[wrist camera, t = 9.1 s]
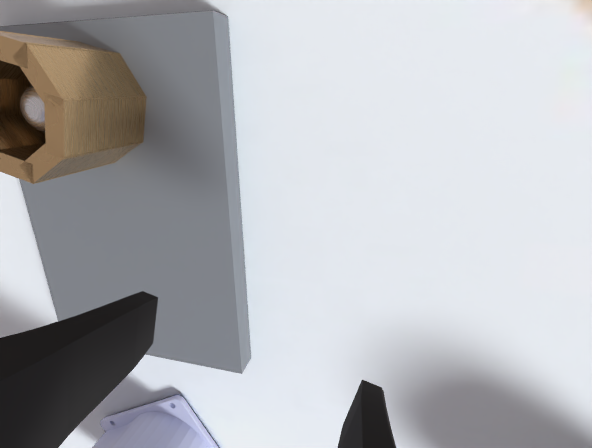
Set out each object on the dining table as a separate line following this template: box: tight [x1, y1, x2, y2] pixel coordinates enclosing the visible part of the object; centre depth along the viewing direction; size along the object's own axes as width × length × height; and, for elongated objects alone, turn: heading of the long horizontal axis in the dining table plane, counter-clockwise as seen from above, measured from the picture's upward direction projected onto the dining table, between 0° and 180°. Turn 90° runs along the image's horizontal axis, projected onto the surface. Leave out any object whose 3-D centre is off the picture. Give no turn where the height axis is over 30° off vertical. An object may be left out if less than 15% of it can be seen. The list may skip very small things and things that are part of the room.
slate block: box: [0, 10, 251, 374], centre depth 22 cm, size 20×14×2 cm
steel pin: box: [20, 86, 45, 132], centre depth 18 cm, size 2×2×4 cm
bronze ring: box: [0, 31, 147, 184], centre depth 17 cm, size 6×6×5 cm
